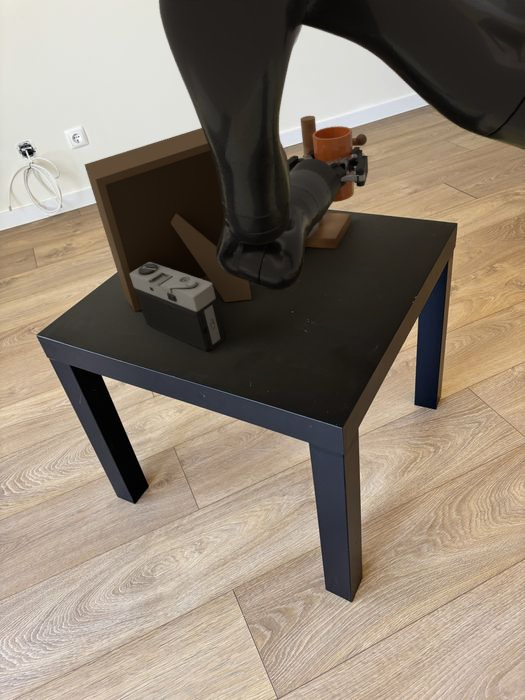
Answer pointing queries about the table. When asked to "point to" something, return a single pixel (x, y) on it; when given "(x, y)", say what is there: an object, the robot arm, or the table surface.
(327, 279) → the table surface
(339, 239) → the mug tree
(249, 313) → the table surface
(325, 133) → the mug
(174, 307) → the camera
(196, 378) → the table surface
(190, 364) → the table surface
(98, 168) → the photo frame
